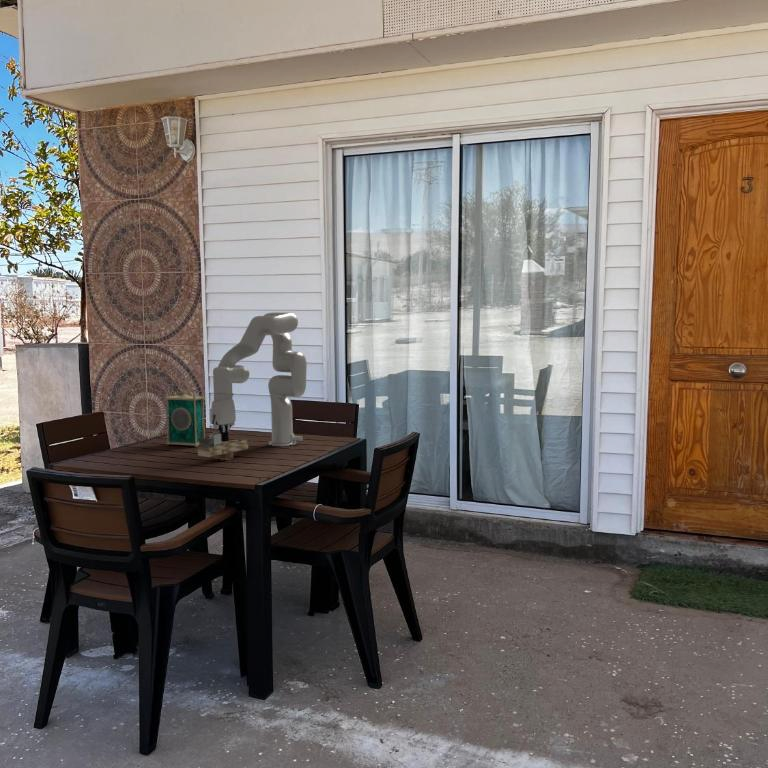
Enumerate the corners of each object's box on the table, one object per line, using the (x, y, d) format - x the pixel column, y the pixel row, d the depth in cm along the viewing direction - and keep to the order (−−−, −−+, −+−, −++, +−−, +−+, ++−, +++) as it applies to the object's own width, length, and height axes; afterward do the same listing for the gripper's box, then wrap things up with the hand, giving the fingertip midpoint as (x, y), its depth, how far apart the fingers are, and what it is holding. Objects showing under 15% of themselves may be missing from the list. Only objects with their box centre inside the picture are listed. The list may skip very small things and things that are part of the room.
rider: (217, 447, 310) (216, 430, 310) (221, 447, 309) (221, 431, 308) (210, 448, 307) (209, 432, 306) (214, 449, 306) (213, 432, 305)
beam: (237, 454, 323) (236, 430, 322) (249, 455, 319) (248, 432, 318) (197, 462, 305) (196, 438, 304) (209, 464, 301) (208, 439, 300)
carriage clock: (165, 446, 345) (162, 380, 342) (176, 442, 353) (174, 378, 350) (196, 447, 339) (194, 381, 336) (207, 444, 347) (205, 379, 344)
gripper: (230, 394, 318) (231, 437, 320) (202, 398, 306) (204, 443, 308) (242, 395, 314) (244, 439, 316) (215, 399, 302) (217, 444, 304)
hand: (224, 441), depth 312 cm, fingers closed
